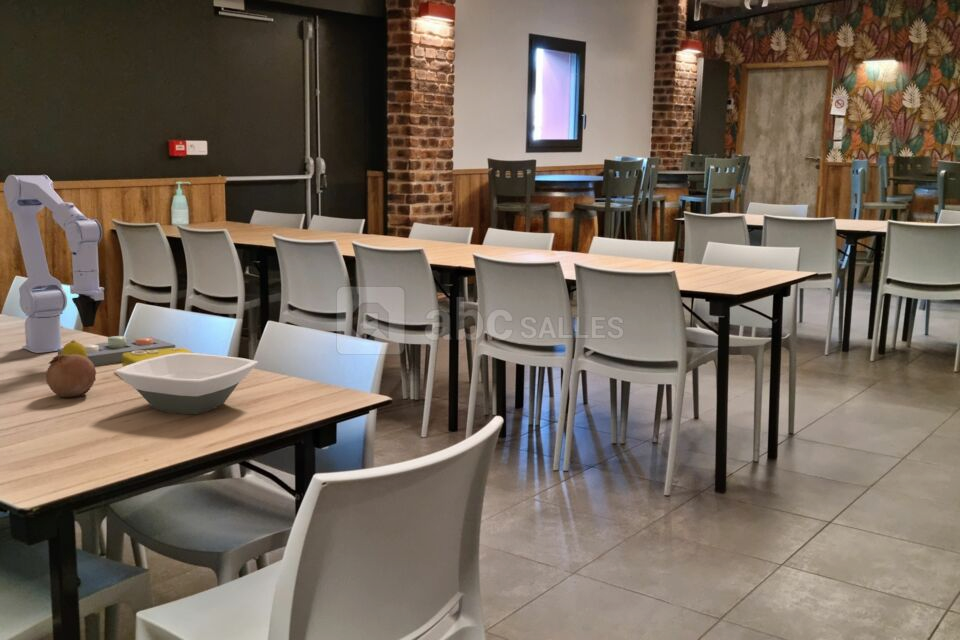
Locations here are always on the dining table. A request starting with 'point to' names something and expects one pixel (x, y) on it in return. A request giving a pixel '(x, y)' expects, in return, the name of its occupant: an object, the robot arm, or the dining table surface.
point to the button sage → (116, 342)
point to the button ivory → (91, 348)
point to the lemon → (74, 349)
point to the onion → (70, 375)
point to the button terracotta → (143, 341)
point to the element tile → (149, 354)
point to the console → (121, 351)
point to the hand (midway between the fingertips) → (88, 326)
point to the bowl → (186, 380)
